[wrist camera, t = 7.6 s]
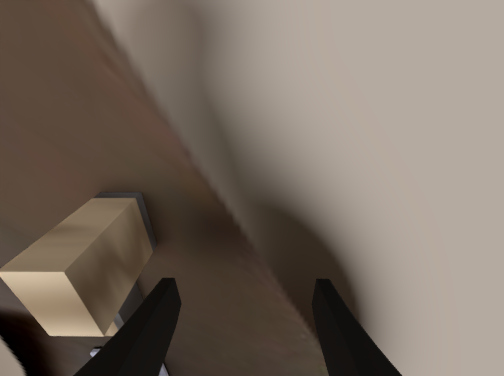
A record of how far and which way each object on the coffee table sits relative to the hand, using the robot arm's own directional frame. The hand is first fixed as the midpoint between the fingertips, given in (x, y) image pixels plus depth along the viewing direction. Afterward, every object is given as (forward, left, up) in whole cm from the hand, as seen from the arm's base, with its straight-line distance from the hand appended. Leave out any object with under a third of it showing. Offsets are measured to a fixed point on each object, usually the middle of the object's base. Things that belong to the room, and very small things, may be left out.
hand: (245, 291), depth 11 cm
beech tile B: (0, +9, -6) cm, 11 cm away
